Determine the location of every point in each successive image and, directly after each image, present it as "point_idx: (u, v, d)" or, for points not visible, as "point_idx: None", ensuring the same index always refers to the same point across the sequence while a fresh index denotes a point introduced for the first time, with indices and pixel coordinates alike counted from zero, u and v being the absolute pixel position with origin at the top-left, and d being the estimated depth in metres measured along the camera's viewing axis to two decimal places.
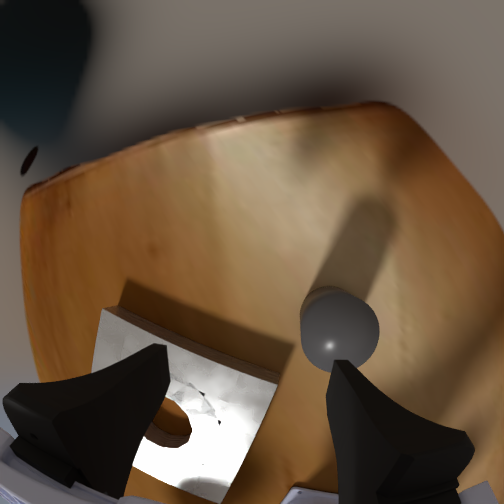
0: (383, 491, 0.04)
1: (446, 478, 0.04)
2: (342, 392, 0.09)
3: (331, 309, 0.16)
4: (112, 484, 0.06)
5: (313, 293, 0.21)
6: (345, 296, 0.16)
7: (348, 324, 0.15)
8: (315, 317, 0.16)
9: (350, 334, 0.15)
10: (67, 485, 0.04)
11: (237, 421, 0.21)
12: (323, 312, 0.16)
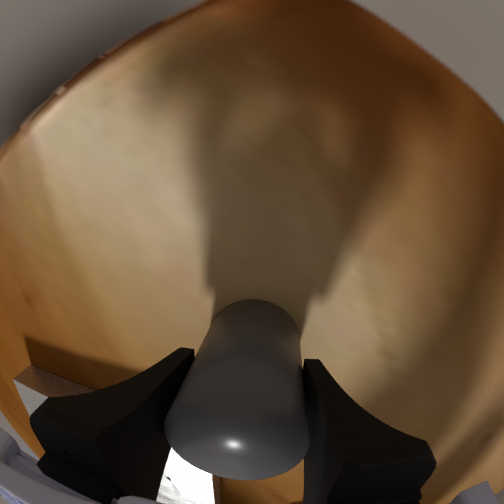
0: (334, 497, 0.05)
1: (405, 489, 0.04)
2: (308, 393, 0.09)
3: (198, 414, 0.07)
4: (146, 496, 0.06)
5: (211, 326, 0.13)
6: (215, 394, 0.07)
7: (241, 431, 0.07)
8: (177, 426, 0.08)
9: (251, 442, 0.07)
10: (106, 503, 0.04)
11: (186, 477, 0.15)
12: (187, 418, 0.08)
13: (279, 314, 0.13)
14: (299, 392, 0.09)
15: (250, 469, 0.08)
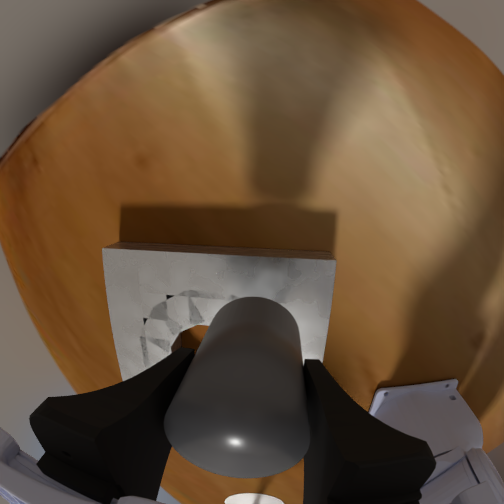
0: (334, 497, 0.05)
1: (405, 489, 0.04)
2: (308, 392, 0.09)
3: (200, 410, 0.07)
4: (146, 496, 0.06)
5: (213, 321, 0.13)
6: (218, 389, 0.07)
7: (242, 428, 0.07)
8: (178, 421, 0.08)
9: (252, 440, 0.07)
10: (105, 503, 0.04)
11: (302, 324, 0.19)
12: (188, 414, 0.07)
13: (281, 312, 0.13)
14: (301, 391, 0.09)
15: (249, 467, 0.08)
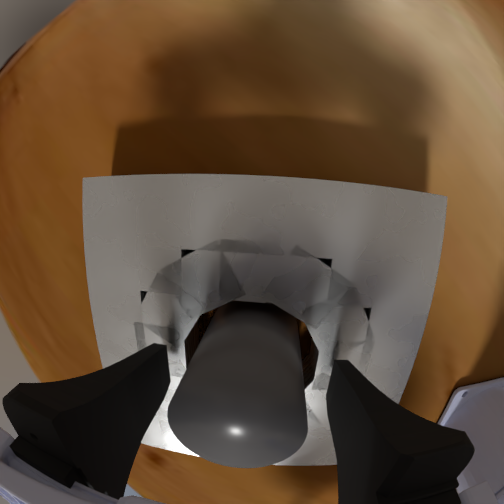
0: (383, 491, 0.04)
1: (446, 478, 0.04)
2: (342, 392, 0.09)
3: (203, 399, 0.08)
4: (112, 484, 0.06)
5: (215, 316, 0.13)
6: (221, 378, 0.08)
7: (243, 417, 0.08)
8: (181, 410, 0.08)
9: (252, 429, 0.08)
10: (67, 485, 0.04)
11: (399, 296, 0.11)
12: (191, 403, 0.08)
13: None
14: (300, 382, 0.09)
15: (248, 456, 0.08)
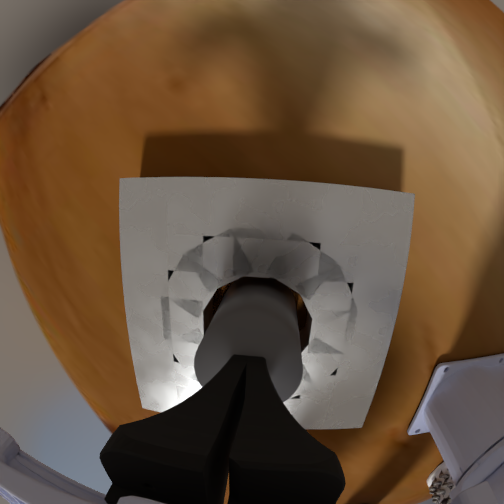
0: (234, 495, 0.05)
1: (312, 501, 0.04)
2: (245, 389, 0.10)
3: (223, 344, 0.11)
4: None
5: (228, 291, 0.17)
6: (238, 325, 0.11)
7: None
8: (205, 355, 0.11)
9: None
10: None
11: (376, 274, 0.15)
12: (214, 348, 0.11)
13: (281, 284, 0.17)
14: (296, 335, 0.12)
15: None
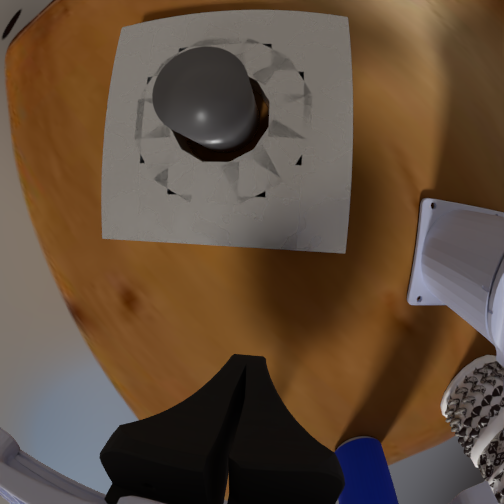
0: (233, 495, 0.05)
1: (312, 501, 0.04)
2: (245, 389, 0.10)
3: (180, 65, 0.11)
4: None
5: None
6: (193, 49, 0.11)
7: (204, 73, 0.11)
8: (164, 78, 0.11)
9: (209, 83, 0.11)
10: None
11: (323, 66, 0.15)
12: (172, 71, 0.11)
13: None
14: None
15: (206, 116, 0.12)
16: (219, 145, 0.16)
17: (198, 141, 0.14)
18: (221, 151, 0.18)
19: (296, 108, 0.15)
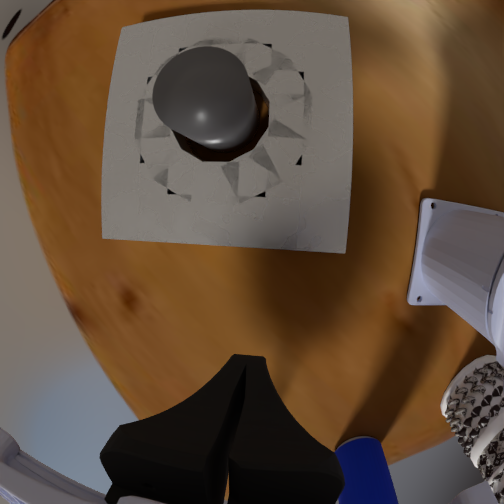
0: (233, 495, 0.05)
1: (312, 501, 0.04)
2: (245, 388, 0.10)
3: (180, 65, 0.11)
4: None
5: None
6: (193, 49, 0.11)
7: (204, 73, 0.11)
8: (164, 78, 0.11)
9: (209, 83, 0.11)
10: None
11: (323, 66, 0.15)
12: (172, 71, 0.11)
13: None
14: None
15: (206, 116, 0.12)
16: (219, 145, 0.16)
17: (198, 141, 0.14)
18: (221, 151, 0.18)
19: (296, 108, 0.15)
